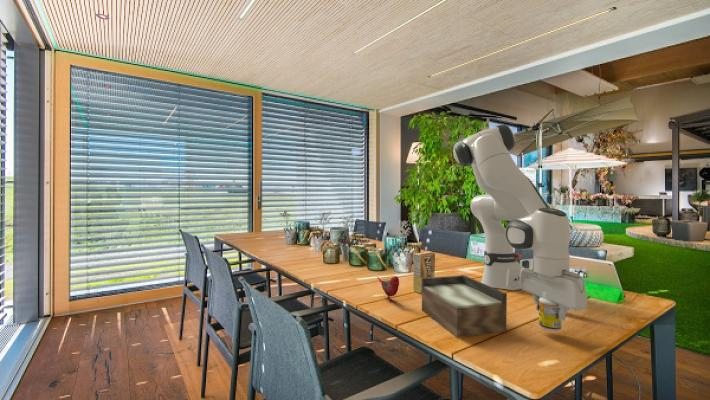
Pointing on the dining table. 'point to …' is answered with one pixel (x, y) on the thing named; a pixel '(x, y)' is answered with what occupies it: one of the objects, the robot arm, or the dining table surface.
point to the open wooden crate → (464, 305)
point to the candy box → (423, 269)
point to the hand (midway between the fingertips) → (550, 315)
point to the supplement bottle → (548, 314)
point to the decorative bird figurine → (390, 286)
